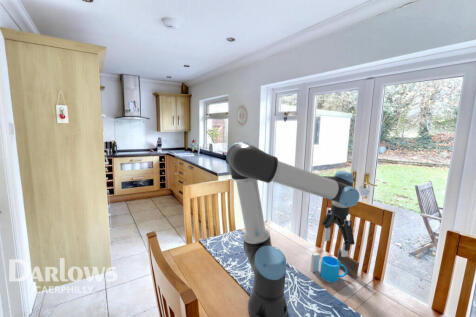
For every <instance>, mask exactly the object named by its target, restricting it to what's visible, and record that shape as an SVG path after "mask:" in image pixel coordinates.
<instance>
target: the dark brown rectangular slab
mask: <svg viewBox="0 0 476 317" xmlns="http://www.w3.org/2000/svg"><path fill="white" fill-rule="evenodd" d="M341 254H342V252H341V253H340V259H339V262H340V264H343V265H344V266H345V267H346V268H347V270H348V273H347V275H349V276H350V277H353V279H355V280H356V279H358V275H359V274H358V273H359V266H360V262H358V261H357V260H355V259H353V258H352V257H350V256H349V255H348V257H342V256H341ZM340 270H342V271H343V272H345V268H344V267H342V266H340Z"/></svg>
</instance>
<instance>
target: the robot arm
mask: <svg viewBox="0 0 476 317" xmlns="http://www.w3.org/2000/svg"><path fill="white" fill-rule="evenodd" d="M225 159H226V162H227V164H228V166H229V170H230V171H229V172H230V176H231V179H232V180H233V181H235V183H236V188H237V193H238V198H239V204H240V210H241V214H242V220H243V225H244V229H245V232H244V234H243V235H242V238H243V240H242V241H243V244H242V245H243V251H244V254H245V256H246V258H247V260H248V262H249V265H250V267H251V269H252V272H253V289H252V291H251V293H250V296H249V298H248V303H247V304H248V305H247V310H248V313H249V315H250V317H286V316H287V317H288V303H287V301H286V296H285V286H286V284H285V283H286V273H287V258H286V255H285V254H284V252H283V251H281V249H279V248H276V247H275V246H273V245H272V244H273V243H272V240H271V239H272V238H271V234H270V231H269V230H268V229H266V225H265V219H264V213H263V208H262V202H261V195H260V190H259V183H258V181H261V182H264V183H266V184H270V183H272V182H273V183H277V184H280V185H283V186H286V187H288V188H292V189H296V190H299V191H302V192H305V193H307V194H311V195H313V196H314V195H315V196H317V197H321V198H324V199H328V200H330V201H331V206H330V209H328V210H327V213H326V215H325V217H324V219H323V221H322V223H321V224H322V225H323V227H324V229H323V230H324V231H323V233H324V234H323V241H324V242H327V241H328V242H329V241H330V237H331V230H332V229H331V227H332V226H333V225H335V224H336V226H338V228H339V229H340V232H341V235H342V238H343V242H342V248H341V249H342V254H341V256H342V257H348V256H349V252H350V249H351V245H352V246H353V245H355V244H356V242H355V240H354V233H353V227H352V226H353V225H352V224H353V223H352V221H351V220H348V219H347V217H348V216H349V214H350V208H352V207H354V206H355V205H357V204H358V203H359V201H360V192H359V190H358V189H357V188H354V174H353V173H352V172H348V171H345V170H339V171H336V172H335V174H334V175H333V176H330V175H329V176H327V175H326V176H325V175H319V174H316V173H314V172H311V171H307V170H305V169H303V168H299V167H296V166H293V165H291V164H288V163H286V162H285V163H284V162H283V161H280V160H279V159H278V157H276V156H274V155H271V154H269V153H267V152H265V151H263V150H261V149H259V148H258V147H257V146H254V145H251V144H250V143H248V142H245V141H241V142H235V143H233V144H232V145H230V147H229V148H228V150H227V152H226V158H225Z"/></svg>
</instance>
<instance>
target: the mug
mask: <svg viewBox="0 0 476 317" xmlns="http://www.w3.org/2000/svg"><path fill="white" fill-rule="evenodd" d="M340 266H342V267H344V268H345V271H344V273H342V274H340V270H341V268H340ZM319 275H320V277H321V278H322V279H323V280H324V281H326V282H328V283H337V282H338V281H339V278H344V277H345V276H347V275H348V270H347V268H346V267H345V266H344V265H343V264H340V262H339V260H337V258H336V257H334V256H330V255H324V256H322V258H321V263H320V274H319Z"/></svg>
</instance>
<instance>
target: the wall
mask: <svg viewBox="0 0 476 317" xmlns="http://www.w3.org/2000/svg"><path fill="white" fill-rule="evenodd" d="M341 252H342V248H338V250H337V258H336V259H337V260H339V259H340V253H341ZM320 257H321V254H320V253H319V252H314V253H311V261H310V262H311V263H310V272H311V273H316V272H318V271H319V267H320V259H321V258H320Z"/></svg>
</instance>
